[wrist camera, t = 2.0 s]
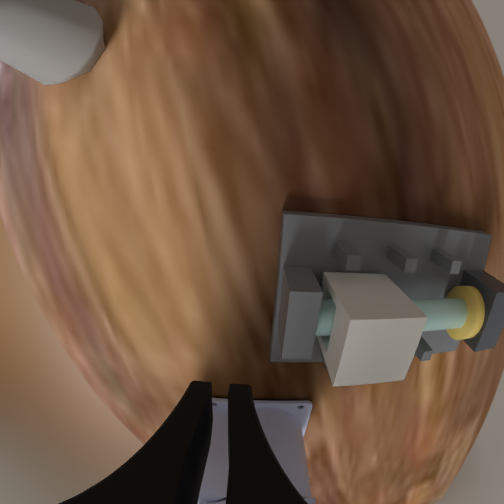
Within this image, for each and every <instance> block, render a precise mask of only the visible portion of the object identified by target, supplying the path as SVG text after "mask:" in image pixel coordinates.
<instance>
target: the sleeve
mask: <svg viewBox="0 0 504 504" xmlns="http://www.w3.org/2000/svg"><path fill="white" fill-rule="evenodd" d="M321 289H322V291H323V296H322V299H333V301H334V303H335V305H336V311H335V316H334V321H333V326H332V331H331V335H326V336H317V338H318V341H319V344H320V347H321V350H322V353H323V356H324V359H325V363H326V366H327V369H328V372H329V375H330V379H331V382H332V385H333V386H349V385H362V384H373V383H382V382H391V381H399V380H404V378H405V376H406V374H407V371H408V369H409V367H410V364H411V362H412V359H413V357H414V354H415V352H416V349H417V346H418V344H419V341H420V338H421V335H422V332H423V330H424V327H425V324H426V321H427V318H428V317H427V316H426V315H425V314H424V313H423V312H422V311H421V310H420V309H419V308H418V307H417V306H416V305H415V304H414V303H413V301H412V300H411V299H410V298H409V297H408V296H407V295H406V294H405V293H404V292H403V291H402V290H401V289H400V288H399V287H398V286H397V285H396V284H395V283H394V282H393V281H392V280H391V279H390V278H389V277H388V276H386V275H385V274H368V273H340V272H323V279H322V285H321Z"/></svg>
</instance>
